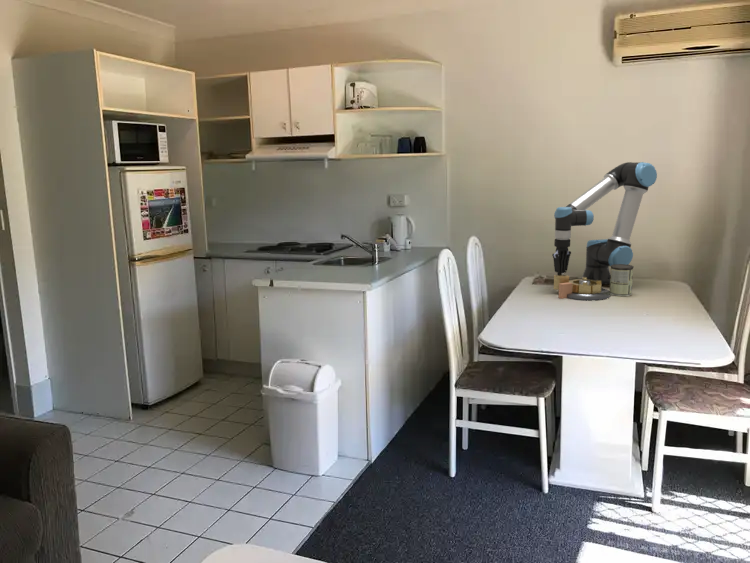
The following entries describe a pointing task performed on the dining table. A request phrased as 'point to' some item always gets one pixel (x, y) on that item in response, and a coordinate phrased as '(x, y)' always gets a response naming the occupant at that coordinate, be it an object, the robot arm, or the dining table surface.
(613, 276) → the coffee can
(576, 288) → the gold octagonal ring
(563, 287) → the block
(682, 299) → the dining table surface
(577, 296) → the plate
